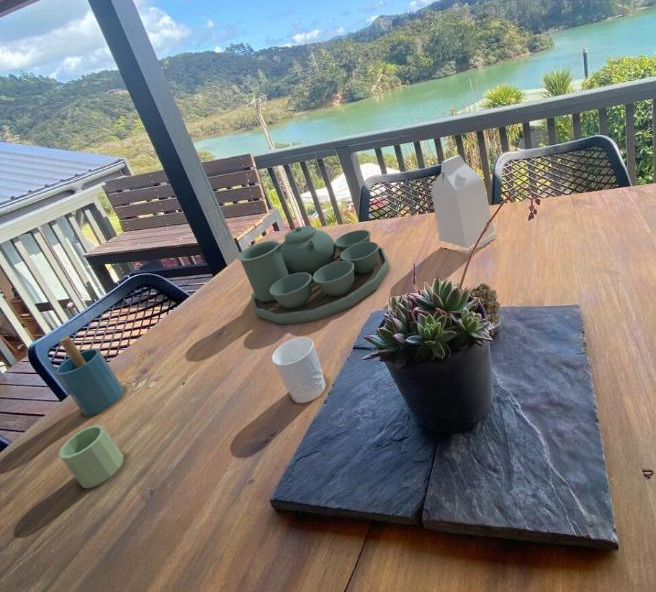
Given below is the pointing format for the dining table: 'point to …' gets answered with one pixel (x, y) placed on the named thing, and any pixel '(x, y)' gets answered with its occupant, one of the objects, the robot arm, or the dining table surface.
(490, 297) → the pine cone
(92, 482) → the holder
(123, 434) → the dining table surface
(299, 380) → the white cup
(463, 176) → the milk
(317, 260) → the tea set
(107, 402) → the blue faceted cup
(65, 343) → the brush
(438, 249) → the dining table surface
